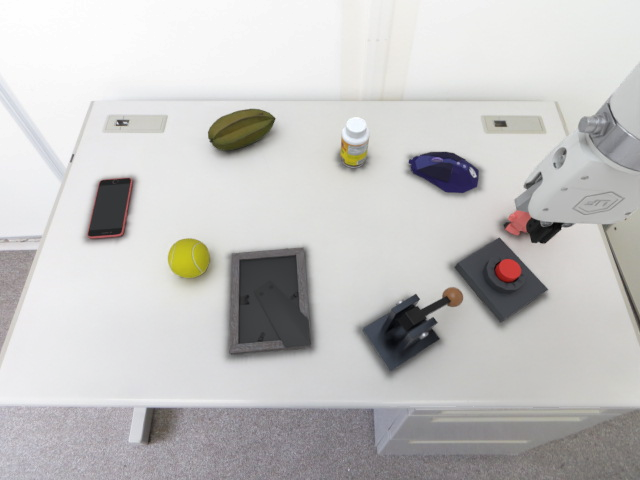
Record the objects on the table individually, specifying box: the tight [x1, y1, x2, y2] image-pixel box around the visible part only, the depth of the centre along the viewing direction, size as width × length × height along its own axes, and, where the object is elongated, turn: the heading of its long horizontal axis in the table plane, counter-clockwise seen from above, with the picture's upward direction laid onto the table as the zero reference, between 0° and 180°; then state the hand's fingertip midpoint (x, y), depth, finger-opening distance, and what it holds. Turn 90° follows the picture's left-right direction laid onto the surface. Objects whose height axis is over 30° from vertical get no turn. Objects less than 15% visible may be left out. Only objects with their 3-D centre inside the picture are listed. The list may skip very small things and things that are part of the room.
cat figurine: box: [502, 210, 531, 236], centre depth 68 cm, size 7×7×12 cm
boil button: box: [495, 259, 521, 282], centre depth 64 cm, size 4×4×2 cm
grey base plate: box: [454, 237, 549, 323], centre depth 66 cm, size 12×10×4 cm
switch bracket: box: [362, 293, 441, 373], centre depth 58 cm, size 10×8×12 cm
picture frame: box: [228, 247, 312, 356], centre depth 66 cm, size 13×2×18 cm
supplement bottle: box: [340, 116, 371, 169], centre depth 77 cm, size 6×6×10 cm
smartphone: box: [86, 177, 133, 239], centre depth 76 cm, size 7×1×14 cm
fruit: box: [207, 108, 276, 151], centre depth 81 cm, size 11×12×7 cm
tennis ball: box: [167, 237, 211, 279], centre depth 67 cm, size 7×7×7 cm
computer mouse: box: [408, 151, 480, 194], centre depth 78 cm, size 9×15×4 cm, turn 75°
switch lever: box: [398, 286, 464, 332], centre depth 58 cm, size 13×3×3 cm, turn 121°
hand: (535, 233), depth 48 cm, fingers closed
